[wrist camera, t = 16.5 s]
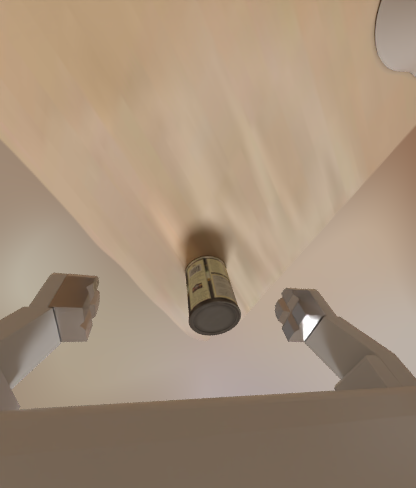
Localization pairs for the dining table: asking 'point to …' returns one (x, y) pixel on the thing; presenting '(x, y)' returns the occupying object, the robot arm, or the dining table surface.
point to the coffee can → (210, 297)
